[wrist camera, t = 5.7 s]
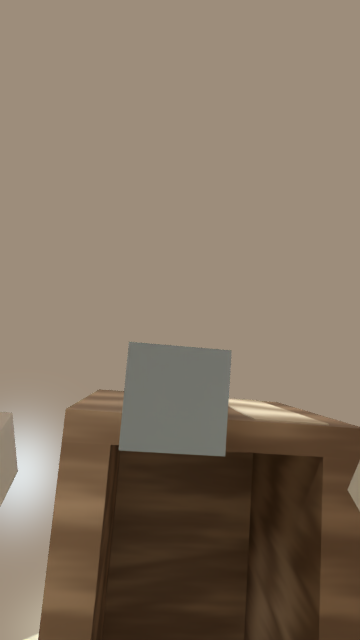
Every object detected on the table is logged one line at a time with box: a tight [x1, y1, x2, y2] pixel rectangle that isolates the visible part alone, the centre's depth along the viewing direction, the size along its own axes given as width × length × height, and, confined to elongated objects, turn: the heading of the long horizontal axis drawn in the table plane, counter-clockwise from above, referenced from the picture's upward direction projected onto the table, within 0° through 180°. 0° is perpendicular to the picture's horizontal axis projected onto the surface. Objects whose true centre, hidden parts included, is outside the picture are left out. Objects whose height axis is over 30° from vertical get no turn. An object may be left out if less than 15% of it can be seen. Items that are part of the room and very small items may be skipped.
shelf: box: [38, 390, 360, 640], centre depth 29 cm, size 16×20×30 cm
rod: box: [119, 342, 231, 456], centre depth 25 cm, size 25×4×4 cm, turn 6°
